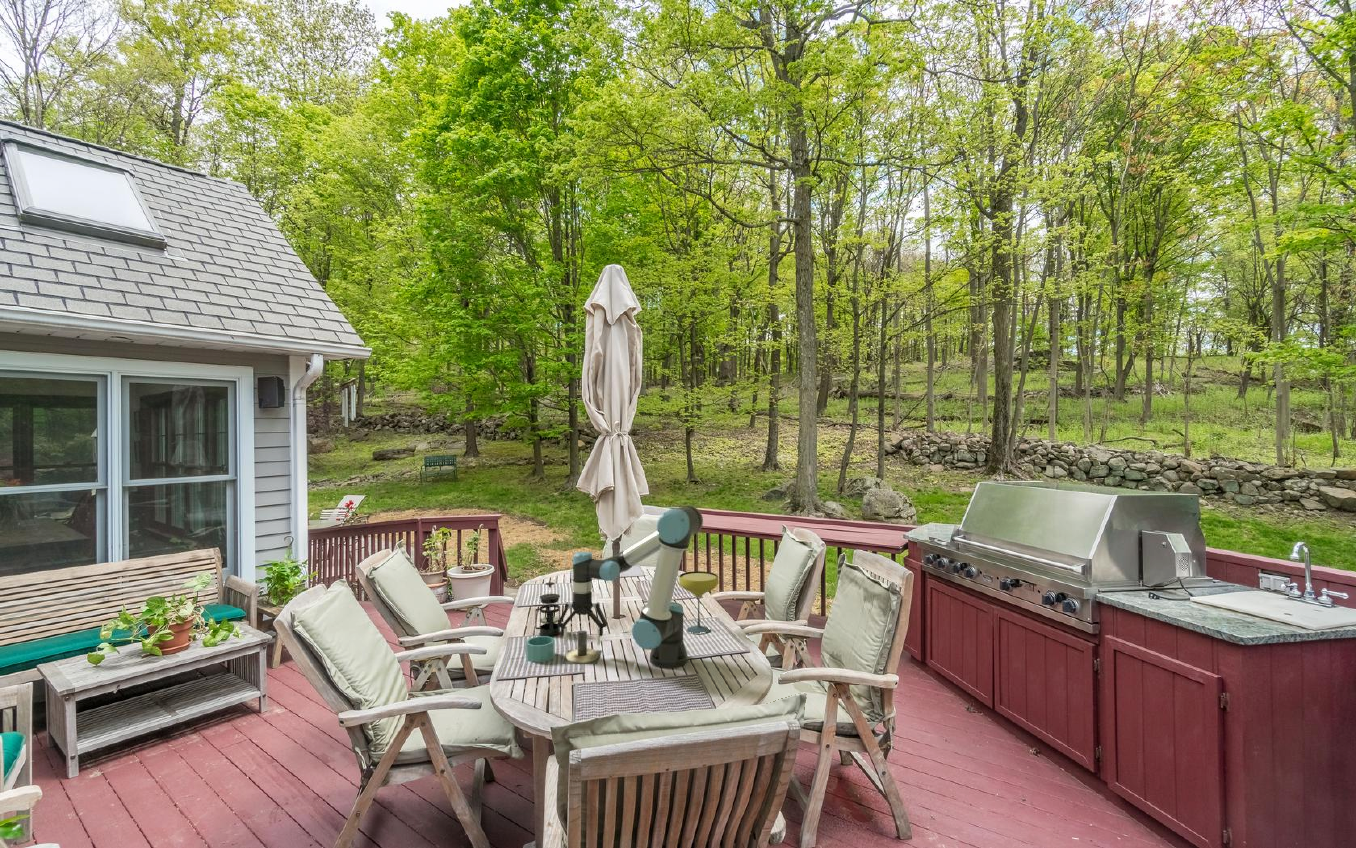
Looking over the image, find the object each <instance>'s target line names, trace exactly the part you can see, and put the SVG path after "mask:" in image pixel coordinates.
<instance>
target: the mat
mask: <svg viewBox="0 0 1356 848" xmlns="http://www.w3.org/2000/svg"><path fill="white" fill-rule="evenodd" d="M572 650H573V649H572ZM572 650H571V649H569V650H567V652H566V654H567V653H568V652H570V651H572ZM595 650H596V649H595ZM596 651H597V652H598V654H599V656H598V658H597V659H596V660H595V661H592V662H589V663H582V664H581V665H598V662H599V661H600V657H601V654H602V650H601V649H600V650H599V649H598V650H596ZM561 665H579V664H578V663H571V662H569V661H567V660H566V655H565V657H564V658H563V660H562V662H561Z"/></svg>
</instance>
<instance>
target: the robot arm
mask: <svg viewBox="0 0 1356 848" xmlns="http://www.w3.org/2000/svg"><path fill="white" fill-rule="evenodd" d="M703 524H704V517H703V514H702V512H701V511H700V510H699V509H698V508H697V507H695V506H693V505H682V506H680V507H676V508H671V509H668V510H667V511H665V512H664V513H662V514H661V515H660V517H659V518H658V520H657V523H656V530H654V531H653V532H651V533H650V534H648V535H647V536H645V537H643V538H641V539H640V540H639V541H637V542H635V543H634V544H631V545H629V546H628V547H626V548H625V549H624V550H622V551H620V552H618V553H617V554H615V555H612V556H610V557H608V558H607V557H606V558H604V559H596V558H593V554H592V552H588V551H579V552H575V553H574V555H573V561H572V573H573V574H572V575H573V579H572V591H573V592H572V602H571V603H570V602H565V605H564V610H563V611H562V614H560V619H559V621H558V622H556V624H557V627H560V632H561V633H560V635H561V637H563V645H564V646H566V645H567V644H568V626H567V625H568V624H569V622H571V620H572V619H573V618H574V616H575V615H578V616H581V615H583V616H589V617H590V618H591V619H592V620H593V622H594V623H595V624H596V626H597V646H600V645H601V637H603V634H604V628H607V627H608V621H607V618H606V617H605V615H604V613H603V610H602V609H601V605H600V604H601V603H600V602H596V603H595V602H594V603H593V602H592V601H593V598H592V597H593V595H592V594H593V592H592V590H593V587H592V586H593V582H592V581H593V579H596V580H601V581H602V580H603V581H607V582H608V581H609V582H613V581H615V580H617V578H619V575H620V574H621V573H624V572H627V571H629V570H630V569H631V568H633V567H634V566H636V565H637V564H639V563H640V562H643V561H644V560H645V559H648V558H649V557H650V556H653V555H654V554H656V553H659V554H658V557H657V561H656V566H655V570H654V572H653V573H654V574H653V578H652V581H651V587H650V591H649V594H648V599H647V603H646V604H645V605H643V606H642V607H641V611H640V615H639V619H637V620H636V621H635V623H633V625H632V627H631V635H632V638H633V640H634V641H635V644H636V645H638V647H640V648H642V649H643V650H647V651H649V650H650V653H649V654H650V655H649V662H650V664H651V665H652V666H654V667H657V666H658V667H657V668H663V669H674V668H679V667H682V666H685V665H686V664H687V663H688V661H689V660H688V659H689V658H688V656H689V655H688V651H687V650H686V646H685V643H684V607H683V605H682V604H681V603H679V602H676V601H672V598H673V595H674V590H675V586H676V582H677V578H678V575H679V571H680V566H681V562H682V559H683V553H684V551H687V550H688V549H689V547H690V543H691V538H692V536H695V535H697V534H698V533H699V531H701V529H703V528H702V527H703ZM571 608H572V610H573V611H572V612H571V614H570V615H569V616H568V617H567V618H566V619H565V620H564V618H565V616H566V615H567V612H568V610H570V609H571ZM592 608H594V609H595V610H596V612H597V615H598V617H597V615H596V614H595V613H594V612H593V610H592ZM563 620H564V622H563Z"/></svg>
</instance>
